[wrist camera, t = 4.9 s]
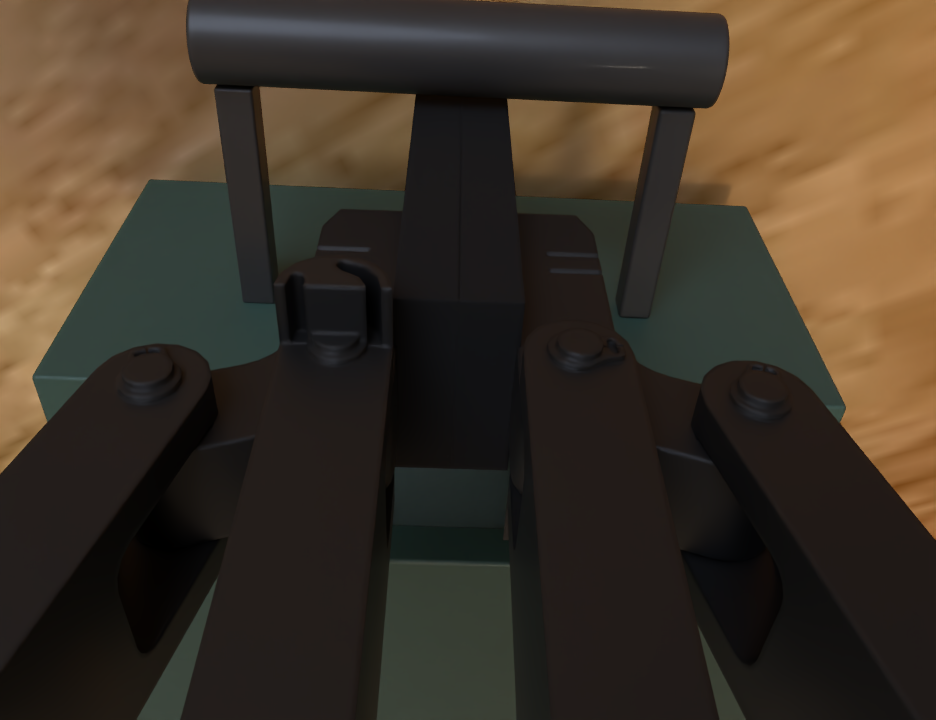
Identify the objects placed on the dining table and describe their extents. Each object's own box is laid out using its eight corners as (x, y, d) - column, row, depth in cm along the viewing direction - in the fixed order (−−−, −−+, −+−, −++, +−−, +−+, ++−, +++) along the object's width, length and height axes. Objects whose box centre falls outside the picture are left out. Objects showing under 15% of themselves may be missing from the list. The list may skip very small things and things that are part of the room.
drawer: (95, -91, 16) (-88, 38, 11) (819, -51, 17) (986, 92, 11) (238, 631, 31) (190, 838, 25) (622, 642, 31) (654, 848, 26)
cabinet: (158, 275, 22) (23, 549, 16) (729, 298, 23) (839, 575, 16) (240, 676, 34) (184, 931, 28) (615, 686, 35) (652, 939, 28)
